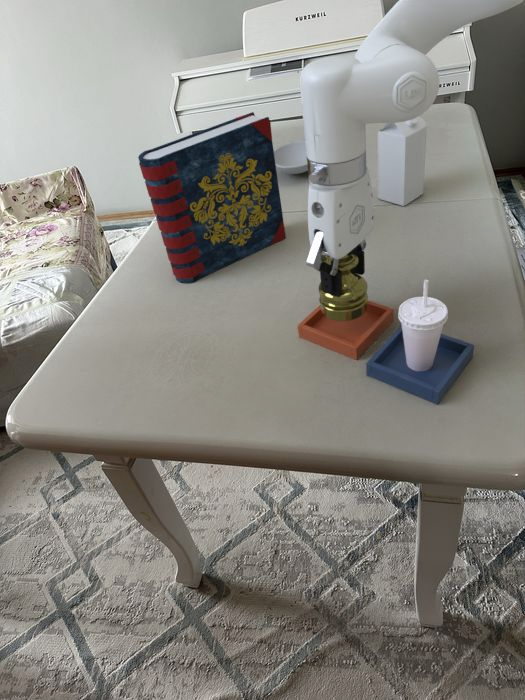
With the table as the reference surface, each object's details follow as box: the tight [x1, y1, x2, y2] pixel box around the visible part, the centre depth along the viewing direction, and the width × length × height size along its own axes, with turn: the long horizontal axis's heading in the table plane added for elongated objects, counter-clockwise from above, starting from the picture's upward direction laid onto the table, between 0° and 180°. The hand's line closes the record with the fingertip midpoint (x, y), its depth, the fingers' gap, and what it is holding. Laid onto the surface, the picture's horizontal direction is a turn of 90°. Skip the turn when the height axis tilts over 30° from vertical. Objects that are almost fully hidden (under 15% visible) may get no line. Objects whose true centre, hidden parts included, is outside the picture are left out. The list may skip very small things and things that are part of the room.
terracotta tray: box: [297, 299, 395, 361], centre depth 84 cm, size 11×11×2 cm
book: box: [137, 111, 287, 284], centre depth 100 cm, size 25×7×25 cm, turn 123°
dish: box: [273, 139, 308, 175], centre depth 134 cm, size 18×14×5 cm
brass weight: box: [317, 252, 369, 321], centre depth 79 cm, size 7×7×10 cm
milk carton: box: [377, 115, 428, 207], centre depth 110 cm, size 7×7×19 cm
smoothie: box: [397, 279, 449, 371], centre depth 71 cm, size 6×6×14 cm
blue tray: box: [365, 324, 475, 405], centre depth 75 cm, size 11×11×2 cm
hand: (343, 281), depth 79 cm, fingers closed on brass weight, 5 cm apart
